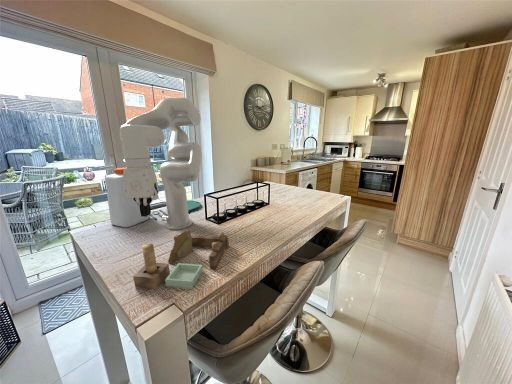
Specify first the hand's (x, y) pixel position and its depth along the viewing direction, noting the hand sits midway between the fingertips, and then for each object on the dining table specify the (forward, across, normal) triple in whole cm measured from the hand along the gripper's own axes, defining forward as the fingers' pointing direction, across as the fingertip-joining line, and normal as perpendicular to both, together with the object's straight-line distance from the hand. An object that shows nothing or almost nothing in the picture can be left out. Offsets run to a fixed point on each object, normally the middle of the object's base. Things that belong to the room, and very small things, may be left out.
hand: (146, 215), depth 75 cm
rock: (+16, +11, +1) cm, 20 cm away
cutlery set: (+16, -15, +48) cm, 53 cm away
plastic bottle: (+16, -31, +30) cm, 46 cm away
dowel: (+16, +9, -13) cm, 23 cm away
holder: (+16, +9, -13) cm, 23 cm away
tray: (+16, +18, -11) cm, 27 cm away
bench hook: (+16, +16, +2) cm, 23 cm away
